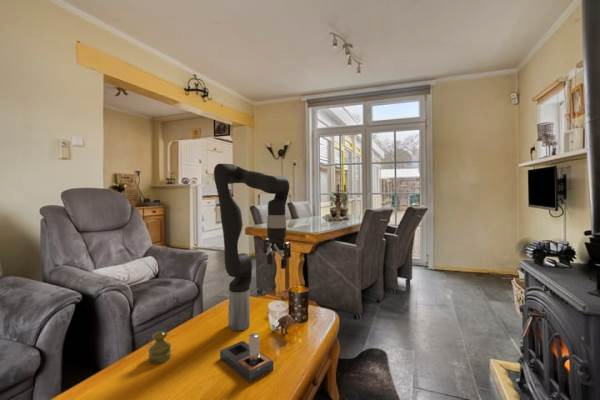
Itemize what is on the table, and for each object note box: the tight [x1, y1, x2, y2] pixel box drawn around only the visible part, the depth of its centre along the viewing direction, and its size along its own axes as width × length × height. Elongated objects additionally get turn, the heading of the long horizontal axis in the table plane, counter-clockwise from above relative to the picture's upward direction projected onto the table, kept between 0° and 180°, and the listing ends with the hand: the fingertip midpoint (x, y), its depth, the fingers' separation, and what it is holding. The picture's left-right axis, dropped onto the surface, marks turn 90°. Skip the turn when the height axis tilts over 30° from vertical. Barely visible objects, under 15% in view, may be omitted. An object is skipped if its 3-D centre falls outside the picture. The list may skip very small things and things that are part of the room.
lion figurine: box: [277, 314, 296, 337], centre depth 127 cm, size 15×5×9 cm, turn 38°
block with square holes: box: [219, 340, 274, 384], centre depth 103 cm, size 19×10×3 cm, turn 45°
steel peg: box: [248, 332, 260, 367], centre depth 99 cm, size 4×4×12 cm
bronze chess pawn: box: [148, 330, 172, 365], centre depth 105 cm, size 7×7×10 cm
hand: (276, 266), depth 114 cm, fingers open, 8 cm apart
